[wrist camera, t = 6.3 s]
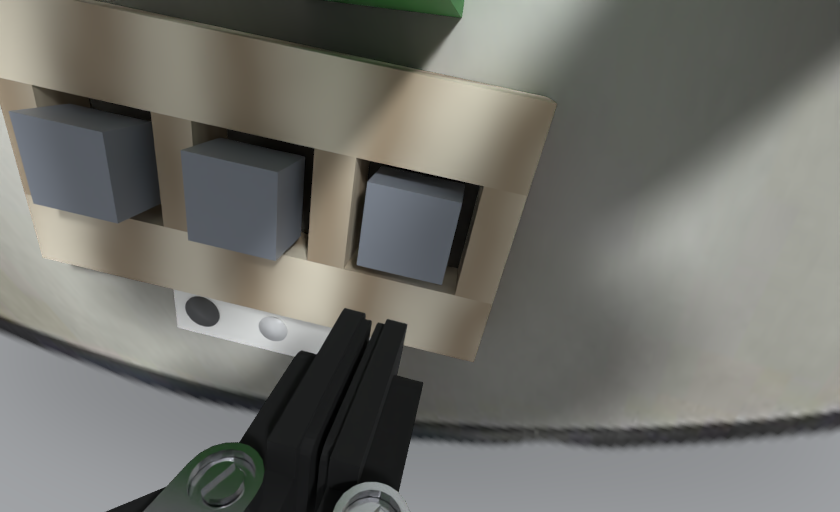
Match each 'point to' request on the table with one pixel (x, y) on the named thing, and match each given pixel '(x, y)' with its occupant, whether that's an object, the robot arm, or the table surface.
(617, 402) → the table surface
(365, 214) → the button
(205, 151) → the middle button
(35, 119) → the button
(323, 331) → the pattern card
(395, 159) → the button board
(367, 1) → the hardback book
